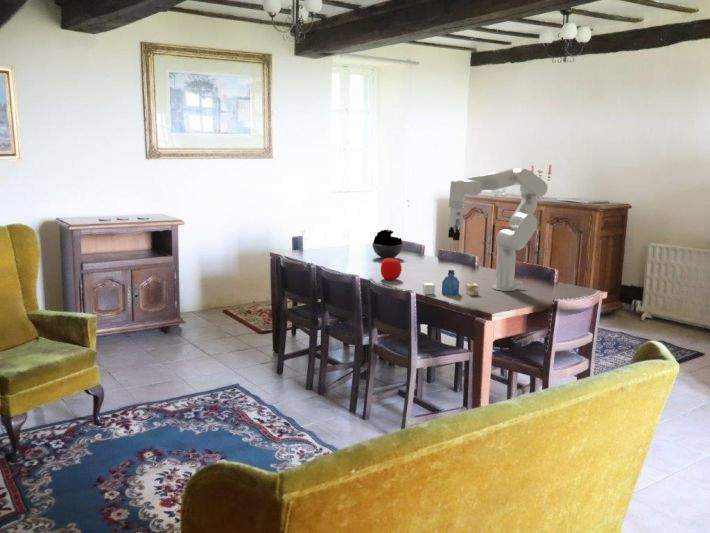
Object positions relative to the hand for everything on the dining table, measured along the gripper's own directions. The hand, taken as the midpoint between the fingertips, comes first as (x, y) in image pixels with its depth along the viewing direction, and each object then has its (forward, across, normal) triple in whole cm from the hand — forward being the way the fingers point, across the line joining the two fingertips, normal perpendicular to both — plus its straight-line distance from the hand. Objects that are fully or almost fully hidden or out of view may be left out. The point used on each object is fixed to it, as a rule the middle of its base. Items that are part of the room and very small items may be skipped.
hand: (453, 238), depth 321 cm
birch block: (+28, -3, -11) cm, 30 cm away
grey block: (+28, -1, +11) cm, 30 cm away
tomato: (+29, +31, +26) cm, 50 cm away
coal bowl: (+28, +97, +18) cm, 102 cm away
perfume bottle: (+28, -2, 0) cm, 28 cm away
